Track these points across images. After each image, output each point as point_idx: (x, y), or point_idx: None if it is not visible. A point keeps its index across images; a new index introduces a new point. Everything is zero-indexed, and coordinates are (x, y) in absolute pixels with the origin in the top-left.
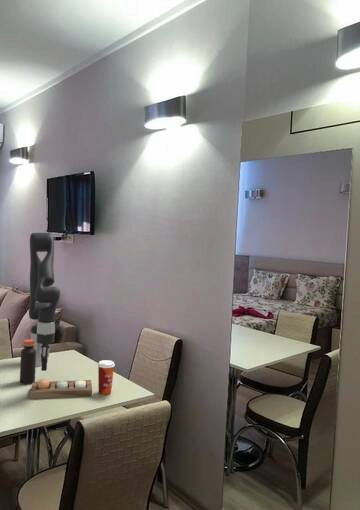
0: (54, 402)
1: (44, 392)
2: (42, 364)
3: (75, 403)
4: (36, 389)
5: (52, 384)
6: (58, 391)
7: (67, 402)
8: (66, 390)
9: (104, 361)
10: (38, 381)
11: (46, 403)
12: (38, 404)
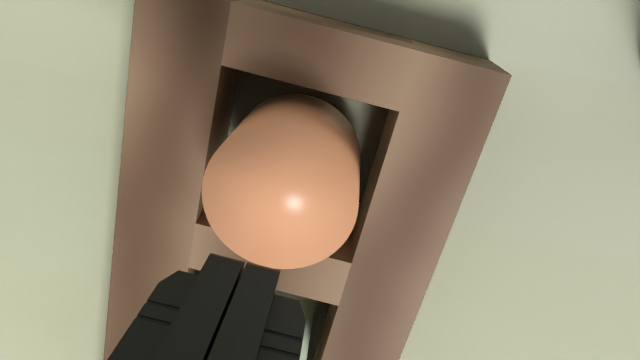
0: (44, 192)
1: (126, 146)
2: (159, 355)
3: (2, 331)
4: (210, 73)
5: (321, 273)
6: (112, 279)
7: (30, 286)
8: (112, 347)
9: None
10: (277, 131)
11: (30, 122)
12: (15, 43)
